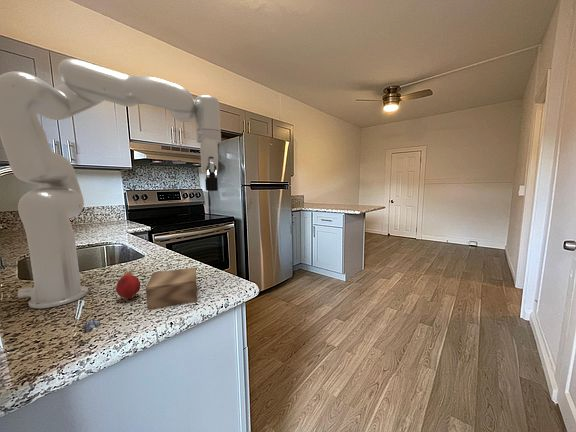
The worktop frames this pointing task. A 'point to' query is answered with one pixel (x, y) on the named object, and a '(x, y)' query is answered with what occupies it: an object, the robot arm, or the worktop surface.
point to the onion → (128, 286)
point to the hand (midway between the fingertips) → (211, 190)
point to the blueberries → (90, 325)
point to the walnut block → (171, 288)
